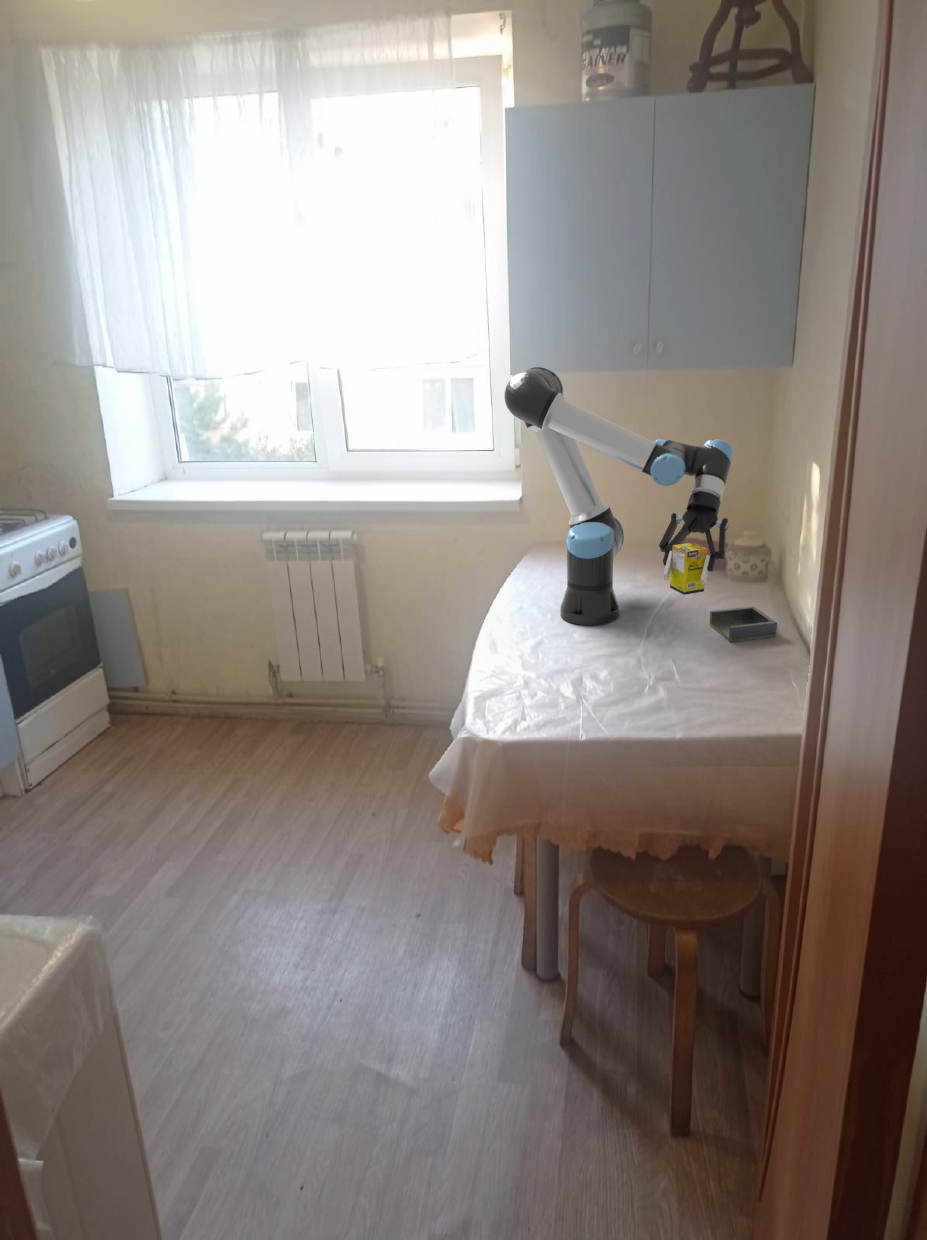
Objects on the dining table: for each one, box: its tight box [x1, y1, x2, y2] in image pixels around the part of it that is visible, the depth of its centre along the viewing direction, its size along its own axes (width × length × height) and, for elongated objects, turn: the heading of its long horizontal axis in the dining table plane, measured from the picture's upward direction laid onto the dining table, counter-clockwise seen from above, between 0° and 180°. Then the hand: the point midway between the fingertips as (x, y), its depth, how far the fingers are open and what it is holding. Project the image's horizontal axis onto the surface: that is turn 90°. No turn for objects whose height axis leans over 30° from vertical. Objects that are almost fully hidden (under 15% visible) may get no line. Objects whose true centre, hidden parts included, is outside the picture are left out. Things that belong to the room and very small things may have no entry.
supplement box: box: [669, 542, 708, 596], centre depth 211 cm, size 6×6×11 cm
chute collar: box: [708, 606, 778, 644], centre depth 214 cm, size 12×12×4 cm
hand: (684, 579), depth 209 cm, fingers closed on supplement box, 8 cm apart
